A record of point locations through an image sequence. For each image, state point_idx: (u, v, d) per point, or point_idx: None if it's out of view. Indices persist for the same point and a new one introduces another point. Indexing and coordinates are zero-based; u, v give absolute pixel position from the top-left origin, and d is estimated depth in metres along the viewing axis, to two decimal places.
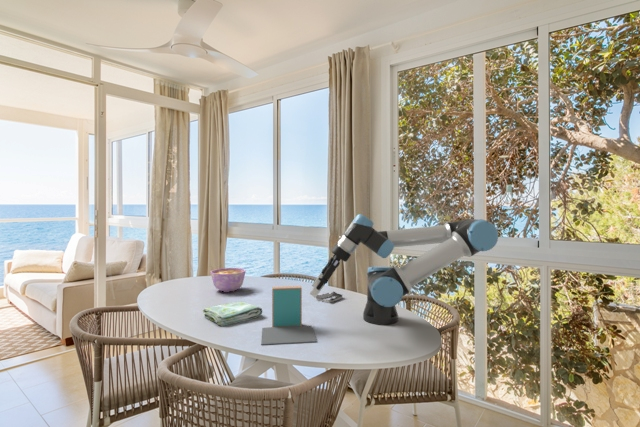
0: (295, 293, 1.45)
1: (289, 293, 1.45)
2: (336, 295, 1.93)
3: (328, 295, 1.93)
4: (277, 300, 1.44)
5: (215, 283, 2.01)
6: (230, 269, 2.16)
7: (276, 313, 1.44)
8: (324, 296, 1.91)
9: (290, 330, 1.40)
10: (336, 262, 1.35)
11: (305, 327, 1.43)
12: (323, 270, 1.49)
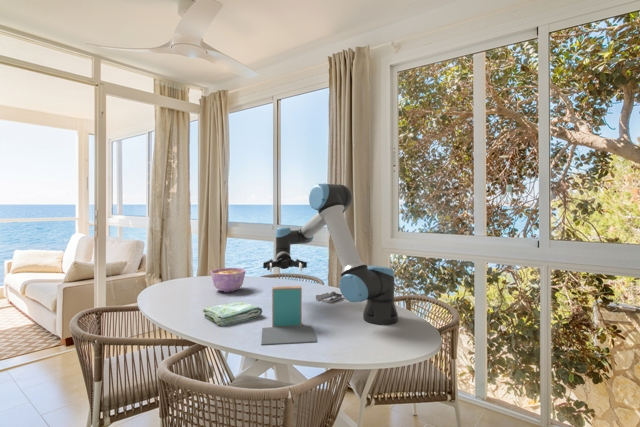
0: (295, 293, 1.45)
1: (289, 293, 1.45)
2: (336, 295, 1.94)
3: (328, 295, 1.93)
4: (277, 300, 1.44)
5: (215, 283, 2.01)
6: (230, 269, 2.16)
7: (276, 313, 1.44)
8: (324, 296, 1.91)
9: (290, 330, 1.40)
10: None
11: (305, 327, 1.43)
12: None
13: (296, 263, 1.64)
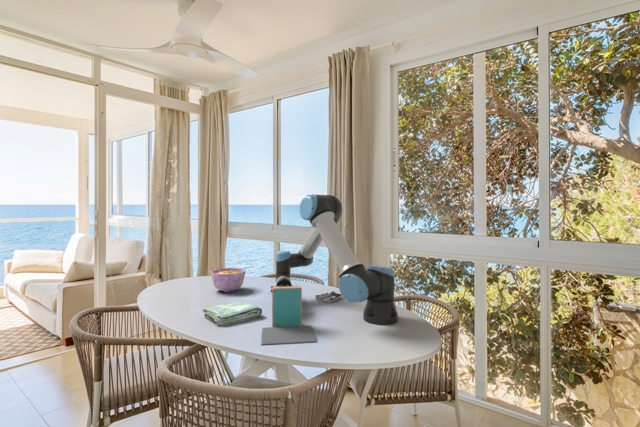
0: (295, 293, 1.45)
1: (289, 293, 1.45)
2: (335, 295, 1.94)
3: (327, 295, 1.94)
4: (277, 300, 1.44)
5: (215, 283, 2.01)
6: (230, 269, 2.16)
7: (276, 313, 1.44)
8: (323, 296, 1.92)
9: (290, 330, 1.40)
10: (271, 289, 1.68)
11: (305, 327, 1.43)
12: None
13: None
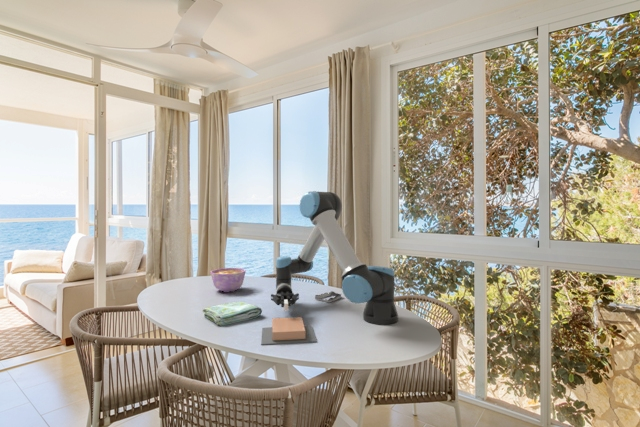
0: None
1: None
2: (334, 295, 1.94)
3: (326, 295, 1.94)
4: None
5: (215, 283, 2.01)
6: (230, 269, 2.16)
7: None
8: (323, 296, 1.92)
9: None
10: (271, 297, 1.59)
11: (305, 327, 1.43)
12: None
13: None
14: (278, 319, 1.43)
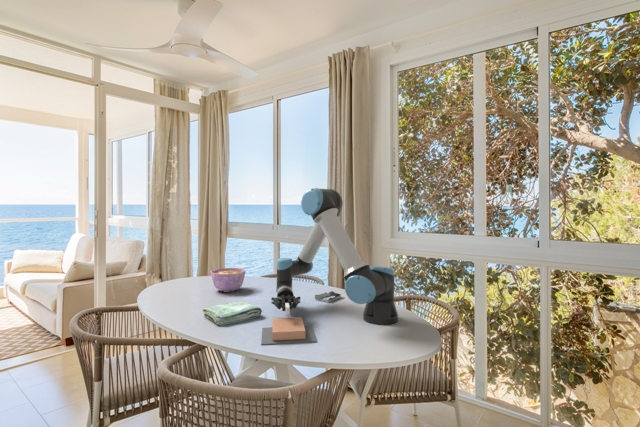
0: None
1: None
2: (334, 294, 1.94)
3: (326, 295, 1.94)
4: None
5: (215, 283, 2.01)
6: (230, 269, 2.16)
7: None
8: (322, 296, 1.92)
9: None
10: (271, 300, 1.53)
11: (305, 327, 1.43)
12: None
13: (288, 302, 1.49)
14: (278, 319, 1.43)
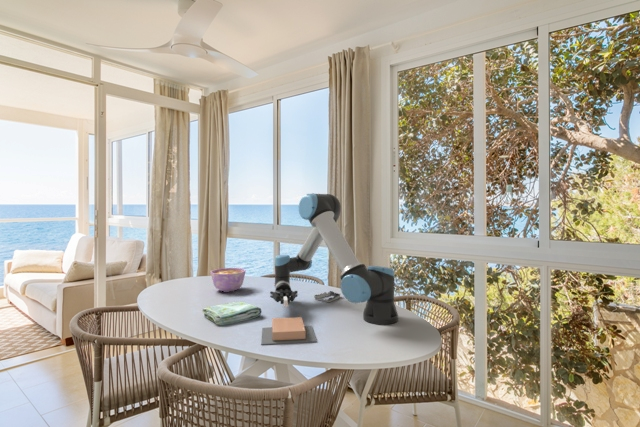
0: None
1: None
2: (333, 294, 1.95)
3: (326, 294, 1.94)
4: None
5: (215, 283, 2.01)
6: (230, 269, 2.16)
7: None
8: (322, 295, 1.92)
9: None
10: (270, 294, 1.63)
11: (305, 327, 1.43)
12: None
13: (286, 296, 1.58)
14: (278, 319, 1.43)
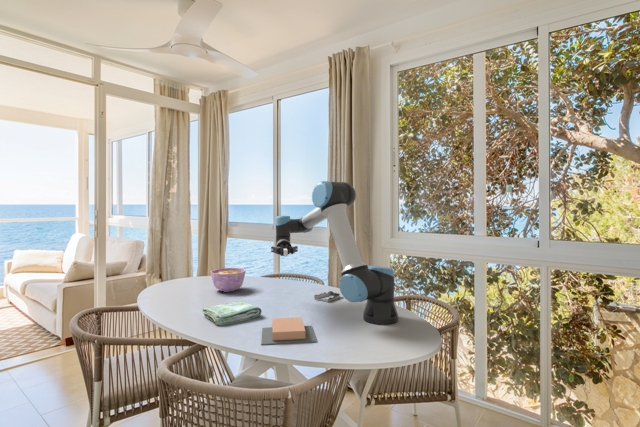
0: None
1: None
2: (333, 294, 1.95)
3: (325, 294, 1.95)
4: None
5: (215, 283, 2.01)
6: (230, 269, 2.16)
7: None
8: (321, 295, 1.92)
9: None
10: (271, 249, 1.67)
11: (305, 327, 1.43)
12: None
13: (286, 249, 1.63)
14: (278, 319, 1.43)
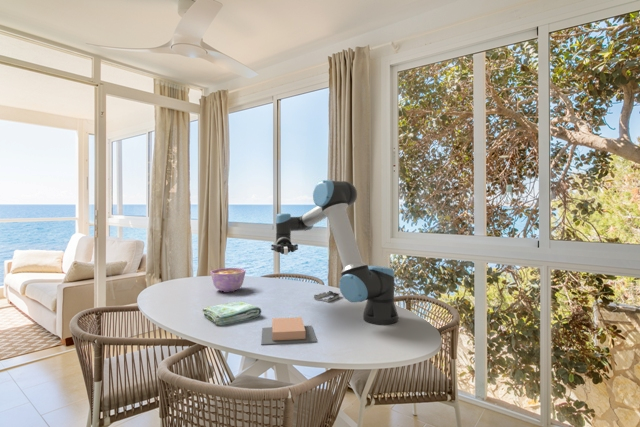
0: None
1: None
2: (333, 294, 1.95)
3: (325, 294, 1.95)
4: None
5: (215, 283, 2.01)
6: (230, 269, 2.16)
7: None
8: (321, 295, 1.92)
9: None
10: (271, 247, 1.67)
11: (305, 327, 1.43)
12: None
13: None
14: (278, 319, 1.43)
